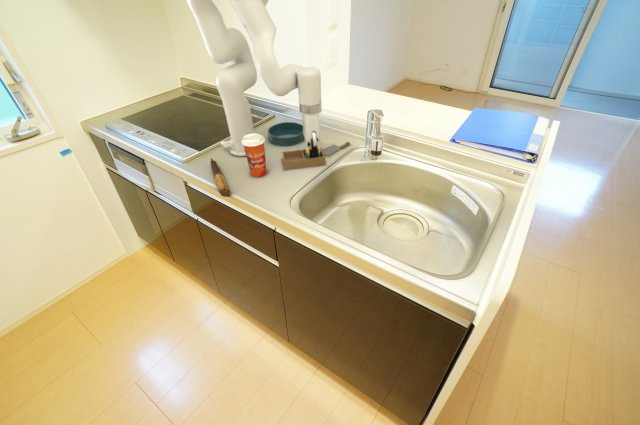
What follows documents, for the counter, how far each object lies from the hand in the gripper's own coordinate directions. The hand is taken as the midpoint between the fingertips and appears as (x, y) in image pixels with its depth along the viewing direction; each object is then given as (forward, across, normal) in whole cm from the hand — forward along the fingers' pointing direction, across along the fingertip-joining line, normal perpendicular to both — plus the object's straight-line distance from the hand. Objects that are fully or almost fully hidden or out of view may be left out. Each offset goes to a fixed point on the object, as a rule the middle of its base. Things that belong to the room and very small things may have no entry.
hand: (313, 154), depth 119 cm
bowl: (+3, -23, -8) cm, 25 cm away
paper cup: (+3, +4, -21) cm, 21 cm away
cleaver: (+3, -8, +10) cm, 13 cm away
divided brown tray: (+3, 0, -4) cm, 5 cm away
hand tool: (-2, +16, -30) cm, 33 cm away
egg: (+1, 0, 0) cm, 1 cm away
